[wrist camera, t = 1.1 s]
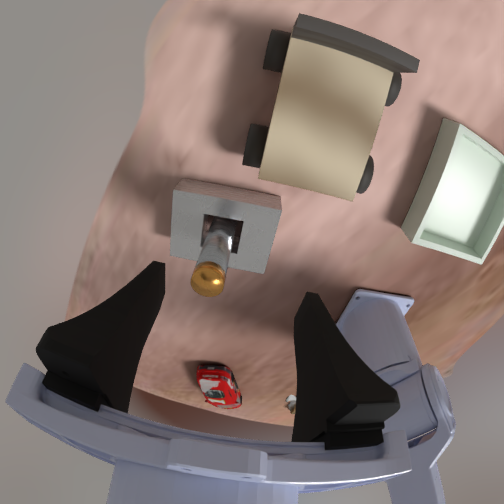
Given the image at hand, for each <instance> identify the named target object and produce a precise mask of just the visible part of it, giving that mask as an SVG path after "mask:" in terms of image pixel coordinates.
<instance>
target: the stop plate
mask: <svg viewBox="0 0 504 504" xmlns="http://www.w3.org/2000/svg"><path fill="white" fill-rule="evenodd" d="M281 212H282V205H281V197H280V196H275V195H270V194H266V193H261V192H256V191H251V190H246V189H241V188H236V187H231V186H225V185H220V184H215V183H209V182H203V181H197V180H191V179H185V178H182V180H181V181H180V182H179V183H178V184H177V186H176V187H175V188H174V189H173V201H172V218H171V242H170V256H175V257H179V258H184V259H189V260H194V261H198V258H199V255H200V253H201V250H202V247H203V244H204V242H205V239H206V236H207V234H208V231H206V229H207V221H208V214H209V215H214V216H219V217H224V218H230V219H235V220H240V221H243V226H242V230H241V235H240V237H235V236H234V239H233V244H232V248H231V253H230V258H229V263H228V267H230V268H235V269H240V270H245V271H250V272H256V273H261V274H264V272H265V268H266V265H267V261H268V258H269V254H270V251H271V247H272V244H273V240H274V237H275V233H276V230H277V226H278V223H279V219H280V216H281Z"/></svg>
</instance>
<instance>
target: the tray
mask: <svg viewBox="0 0 504 504" xmlns="http://www.w3.org/2000/svg"><path fill="white" fill-rule="evenodd" d="M503 225H504V156H503V155H502V154H501V153H500V152H499V151H497V150H496V149H495V148H494V147H492V146H491V145H490V144H488V143H487V142H486V141H484V140H483V139H482V138H480V137H479V136H478V135H476V134H475V133H473V132H472V131H470V130H469V129H467V128H466V127H465V126H463V125H462V124H460V123H457V122H454V121H452V120H449V119H446V118H443V120H442V124H441V127H440V130H439V133H438V136H437V139H436V142H435V145H434V148H433V151H432V154H431V157H430V159H429V162H428V165H427V168H426V170H425V173H424V175H423V178H422V180H421V183H420V185H419V188H418V190H417V193H416V195H415V197H414V200H413V202H412V204H411V207H410V209H409V211H408V213H407V215H406V218H405V220H404V222H403V224H402V226H401V229H402V230H403V232H404V233H405V235H406V236H407V237H408V239H409V240H410V242H411V243H414V244H417V245H421V246H424V247H428V248H431V249H434V250H438V251H441V252H444V253H447V254H451V255H454V256H457V257H460V258H463V259H466V260H469V261H472V262H475V263H478V264H481V265H482V263H483V261H484V260H485V258H486V256H487V255H488V253H489V251H490V249H491V248H492V246H493V244H494V242H495V240H496V238H497V237H498V235H499V233H500V231H501V229H502V227H503Z"/></svg>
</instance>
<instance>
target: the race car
mask: <svg viewBox="0 0 504 504" xmlns="http://www.w3.org/2000/svg"><path fill="white" fill-rule="evenodd" d="M197 382H198V384H199V386H200V388H201V390H202V392H203V394H204V396H205V398H206V400H205V402H208V403H210V404H212V405H214V406H216V407H219V408H224V409H234V408H238V407H239V406H241V404H242V396H241V394H240V391H239V388H238V386H237V383H236V380H235V378H234V375H233V373H232V371H231V370H230V369H229V368H227V367H225V366H223V367H222V366H221V365H220V366H219V365H218V366H215V365H205V366H204V365H201V366H198V369H197Z"/></svg>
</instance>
